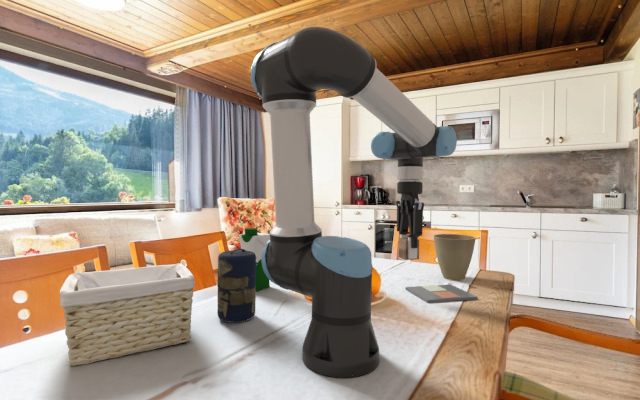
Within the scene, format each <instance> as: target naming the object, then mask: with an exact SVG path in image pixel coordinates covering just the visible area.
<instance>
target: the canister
mask: <svg viewBox="0 0 640 400" xmlns="http://www.w3.org/2000/svg"><path fill="white" fill-rule="evenodd" d="M256 295H257V291H256V255H255V253H254V252H251V251H246V250H244V249H241V247H238V248H235V249H232V250H225V251H222V252H220V253H219V254H218V257H217V317H218V318H219V320H220V321H223V322H226V323H240V322H246V321H249V320H251V319H252V318H254V316H255V315H256V300H257V299H256Z"/></svg>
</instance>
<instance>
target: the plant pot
mask: <svg viewBox="0 0 640 400" xmlns="http://www.w3.org/2000/svg"><path fill="white" fill-rule="evenodd" d="M433 243H434V249H435V253H436V259H437V262H438V266H439V269H440V271H441V274H442V277H443V278H444V279H446V280H449V281H463V280H464V279H465V278H466V275H467V273H468V270H469V268H470V264H471V261H472V258H473V254H474V250H475V249H474V248H475V244H476V237H475V236H473V235H468V234H457V233H456V234H455V233H439V234H434V235H433Z"/></svg>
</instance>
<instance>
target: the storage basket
mask: <svg viewBox="0 0 640 400" xmlns="http://www.w3.org/2000/svg"><path fill="white" fill-rule="evenodd" d="M195 286H196V283H195V276H194V274H193V273H192V272H191V271H190V269H189V268H187V267H186V266H185V265H184V264H183V263H179V262H178V263H175V264H161V265H153V266H152V265H150V266H143V267H142V266H141V267H131V268H130V267H129V268H123V269H121V268H120V269H108V270H98V271H96V270H95V271H86V272H74V273H71V274H69V275H68V276H67V277H66V279H65V281H64V282H63V284H62V285H61V288H60V290H59V299H60V300H59V302H60V305H59V306H60V307H62V308H63V312H64V319H65V322H64V323H65V330H64V331H65V333H64V334H65V336H66V338H67V340H66V345H67V348H68V352H67V354H68V360H69V365H70V366H72V367H74V366H80V365H88V364H89V365H90V364H92V363H94V362H99V361H105V360H107V359H108V360H110V359H114V358H119V357H123V356H127V355H133V354H135V353H136V354H137V353H143V352H148V351H151V350H152V351H153V350H157V349H159V348H160V349H161V348H166V347H168V346H173V345H175V346H176V345H179V344H182V343H186V342H189V341H190V340H191V329H192V328H191V327H192V326H191V324H192V311H193V310H192V309H193V308H192V306H193V305H192V304H193V296H194V288H195Z"/></svg>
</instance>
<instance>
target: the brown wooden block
mask: <svg viewBox="0 0 640 400" xmlns="http://www.w3.org/2000/svg"><path fill="white" fill-rule="evenodd" d="M398 258H400V259H402V260H405V261H410V260H413V261H414V260H415V259H408V238H400V237H399V238H398ZM416 260H420V239H418V242H417V259H416Z"/></svg>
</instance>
